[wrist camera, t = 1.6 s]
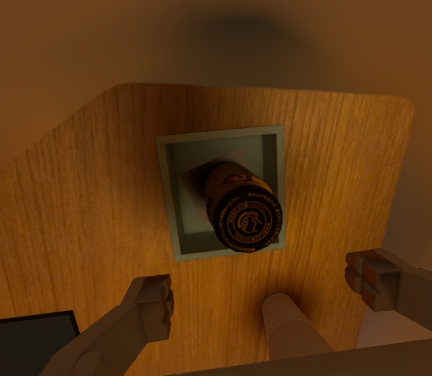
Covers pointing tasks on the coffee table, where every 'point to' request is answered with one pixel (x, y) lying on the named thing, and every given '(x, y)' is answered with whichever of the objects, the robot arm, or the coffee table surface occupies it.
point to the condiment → (234, 202)
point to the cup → (290, 330)
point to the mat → (33, 341)
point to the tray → (202, 153)
